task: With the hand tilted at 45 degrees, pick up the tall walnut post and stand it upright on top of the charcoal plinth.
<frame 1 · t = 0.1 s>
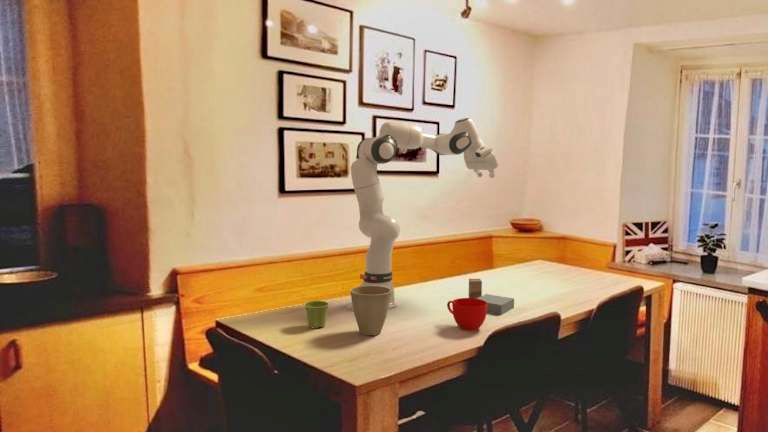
hand: (486, 176, 266), 54 cm above the table, tool tilted 30°, fingers open, 8 cm apart
charcoal plinth: (493, 308, 240), on the table
plant pot: (370, 333, 207), on the table
walnut post: (474, 299, 255), on the table
plant pot 2: (316, 326, 215), on the table
ceramic cup: (464, 327, 214), on the table
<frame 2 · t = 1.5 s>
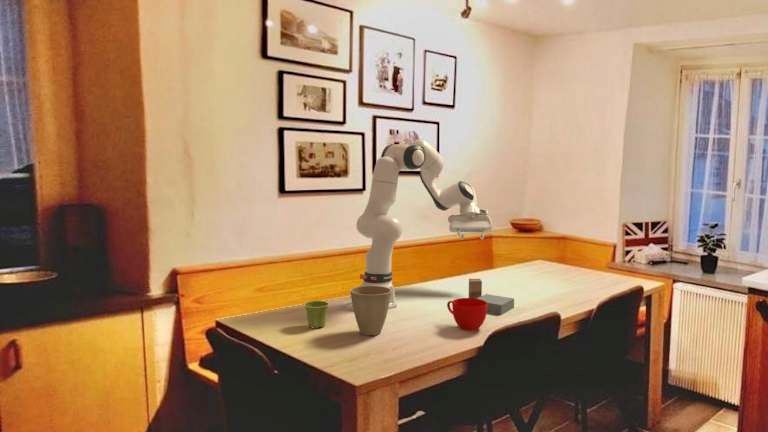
hand: (472, 238, 264), 26 cm above the table, tool tilted 45°, fingers open, 8 cm apart
nothing on the table moved.
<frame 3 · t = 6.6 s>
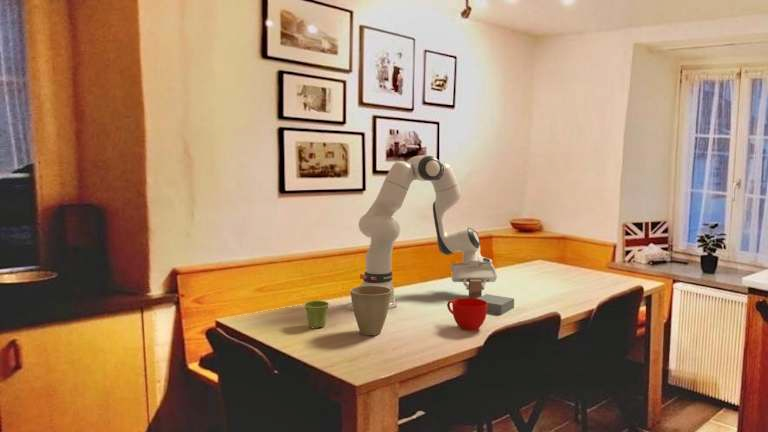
hand: (475, 289, 253), 5 cm above the table, tool tilted 45°, fingers closed on walnut post, 5 cm apart
walnut post: (474, 299, 255), on the table, touching gripper
everything else where it was.
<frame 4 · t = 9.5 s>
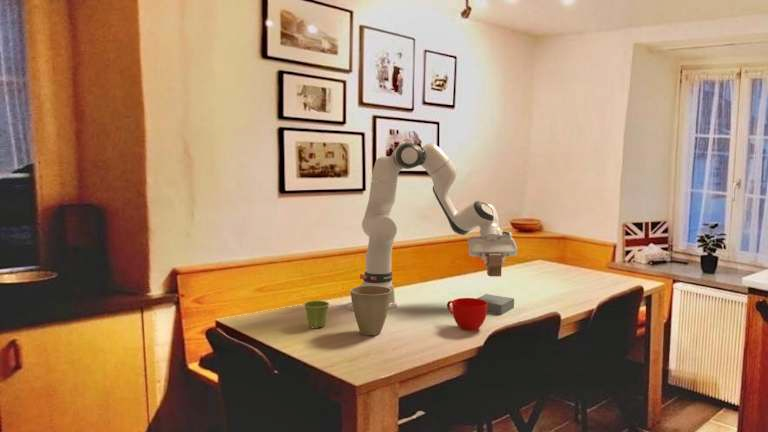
hand: (494, 263, 237), 19 cm above the table, tool tilted 45°, fingers closed on walnut post, 5 cm apart
walnut post: (494, 275, 238), point 14 cm above the table, touching gripper
everything else where it was.
when the fingers open (10 cm above the table, at t = 12.4 s): walnut post drops 1 cm, resting on charcoal plinth.
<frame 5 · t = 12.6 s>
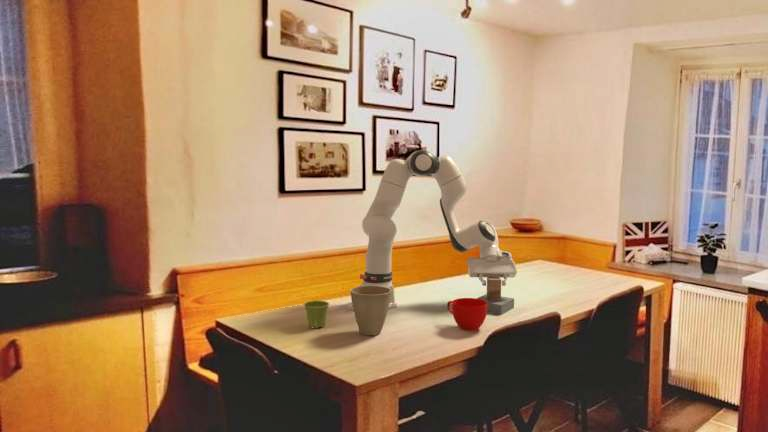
hand: (494, 284, 238), 10 cm above the table, tool tilted 45°, fingers open, 7 cm apart
walnut post: (493, 299, 239), point 4 cm above the table, touching charcoal plinth
everything else where it was.
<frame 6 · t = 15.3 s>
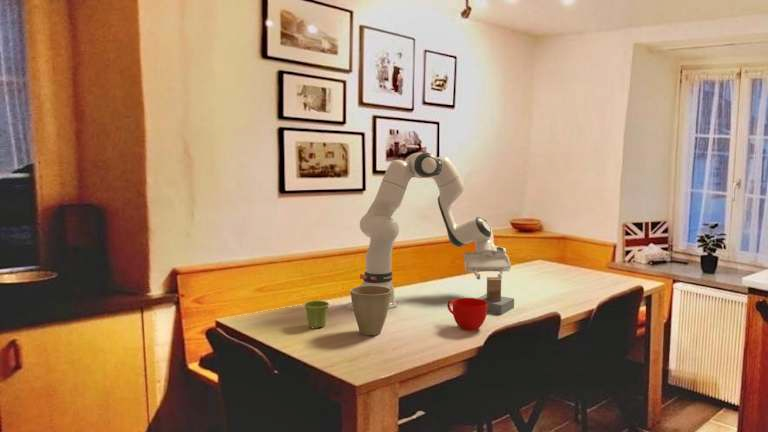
hand: (489, 278, 250), 10 cm above the table, tool tilted 45°, fingers open, 8 cm apart
nothing on the table moved.
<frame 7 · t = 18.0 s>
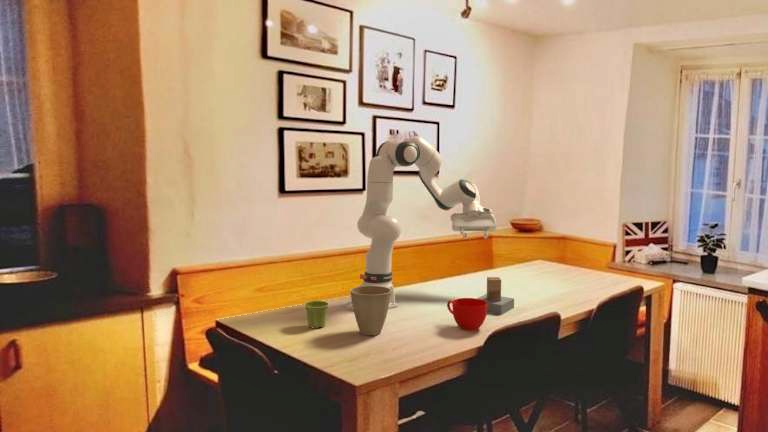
hand: (475, 237, 257), 27 cm above the table, tool tilted 45°, fingers open, 8 cm apart
nothing on the table moved.
at the end: walnut post 0.0 cm off-centre on the charcoal plinth, point 4.0 cm above the charcoal plinth's base; walnut post tilted 0°; the gripper is holding nothing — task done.
